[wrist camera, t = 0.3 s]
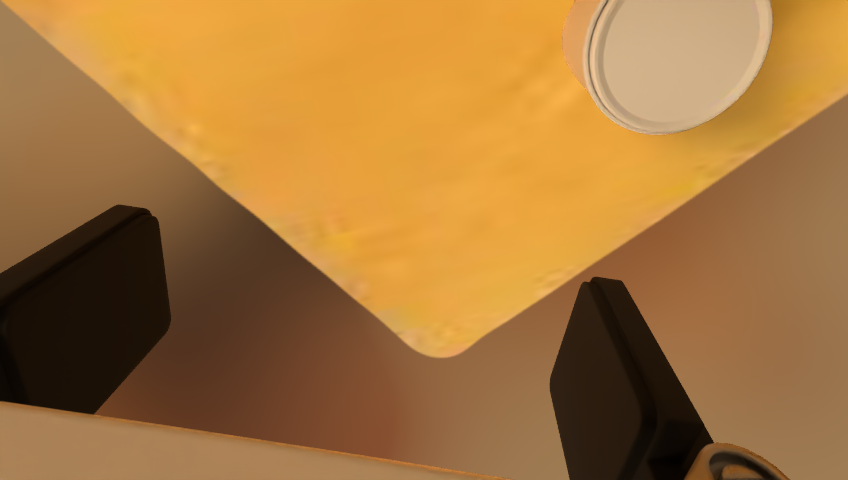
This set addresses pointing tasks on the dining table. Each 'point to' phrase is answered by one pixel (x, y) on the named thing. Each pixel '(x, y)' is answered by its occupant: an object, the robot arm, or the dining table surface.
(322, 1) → the dining table surface
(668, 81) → the coffee cup
